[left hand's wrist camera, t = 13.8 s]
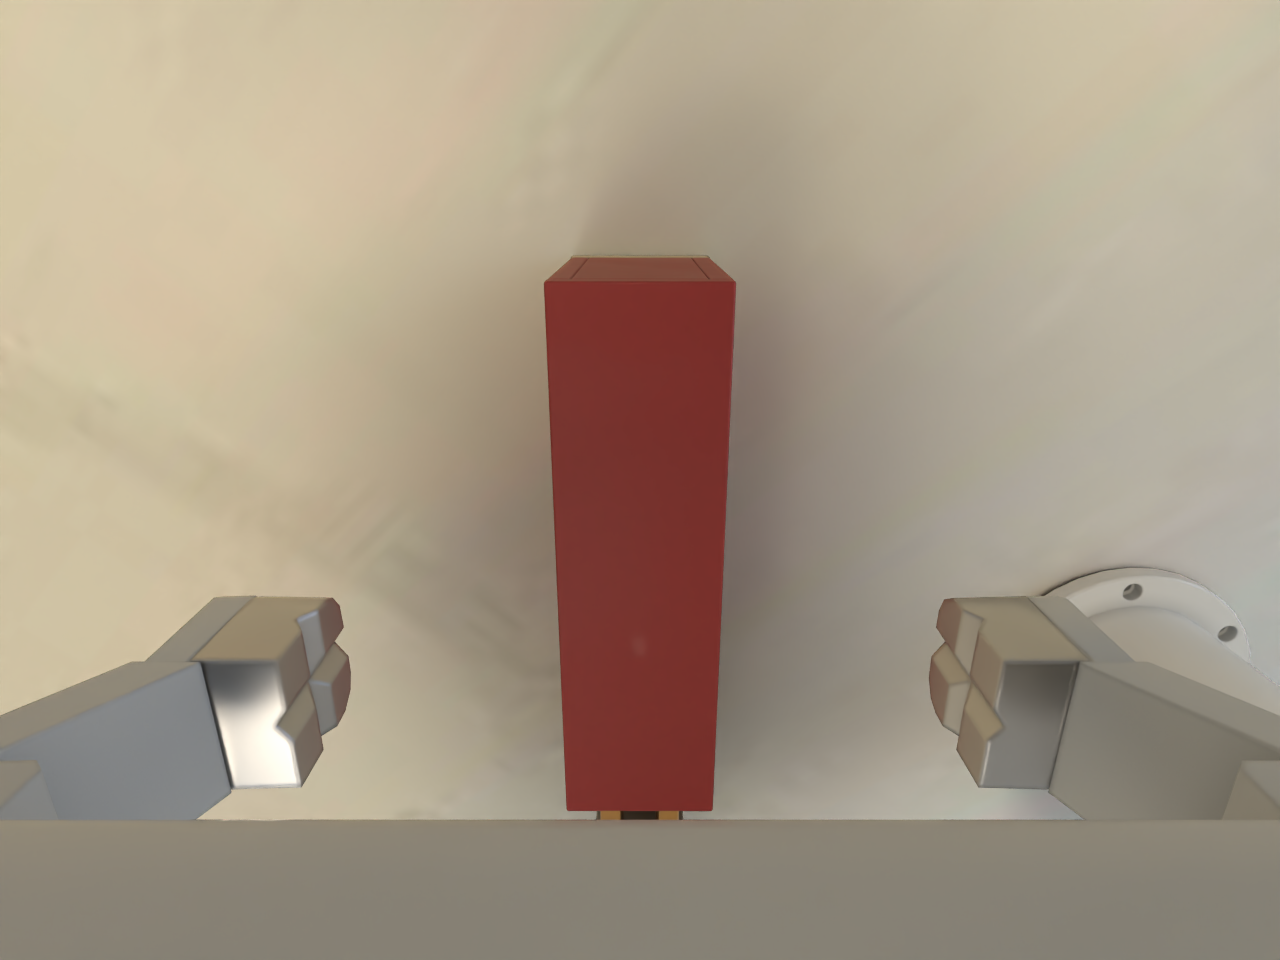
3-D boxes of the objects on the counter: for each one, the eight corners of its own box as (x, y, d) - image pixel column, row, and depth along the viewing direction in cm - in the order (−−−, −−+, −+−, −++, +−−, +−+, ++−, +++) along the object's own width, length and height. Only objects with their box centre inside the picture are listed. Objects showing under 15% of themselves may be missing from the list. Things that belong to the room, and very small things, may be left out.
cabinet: (694, 660, 37) (713, 812, 28) (584, 659, 37) (566, 811, 28) (707, 255, 31) (736, 280, 21) (572, 255, 31) (543, 280, 21)
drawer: (678, 879, 41) (687, 1033, 34) (600, 878, 41) (591, 1033, 34) (688, 478, 33) (702, 562, 25) (591, 477, 33) (576, 562, 25)
